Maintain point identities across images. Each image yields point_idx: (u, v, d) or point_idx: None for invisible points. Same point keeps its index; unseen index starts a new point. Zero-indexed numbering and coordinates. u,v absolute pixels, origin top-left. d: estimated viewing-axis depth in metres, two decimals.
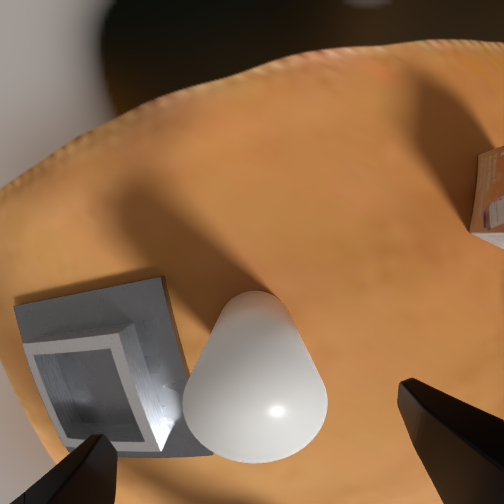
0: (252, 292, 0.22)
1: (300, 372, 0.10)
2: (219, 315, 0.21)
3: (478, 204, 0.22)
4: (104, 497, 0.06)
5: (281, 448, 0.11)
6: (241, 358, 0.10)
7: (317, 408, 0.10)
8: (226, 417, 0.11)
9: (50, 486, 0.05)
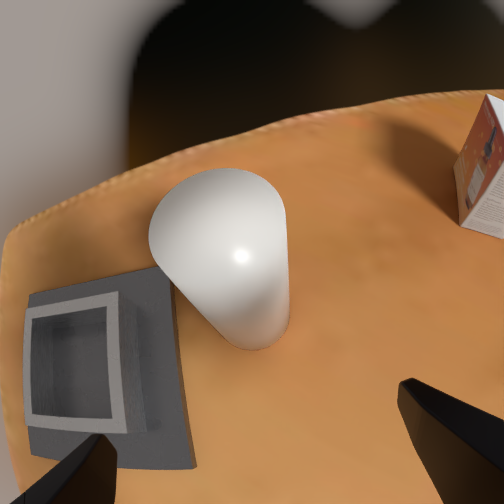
0: None
1: (256, 185, 0.13)
2: None
3: (460, 199, 0.24)
4: (104, 497, 0.06)
5: (238, 265, 0.11)
6: (208, 178, 0.13)
7: (275, 216, 0.12)
8: (186, 228, 0.12)
9: (50, 486, 0.05)
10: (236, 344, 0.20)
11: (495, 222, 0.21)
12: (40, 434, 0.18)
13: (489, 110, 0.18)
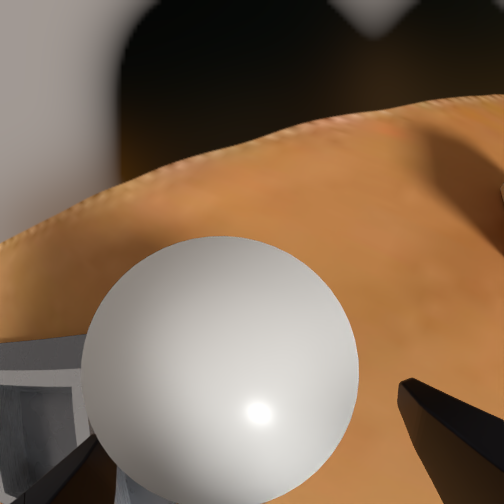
0: None
1: (293, 282, 0.06)
2: None
3: None
4: (104, 497, 0.06)
5: (259, 475, 0.04)
6: (190, 259, 0.06)
7: (337, 365, 0.05)
8: (147, 380, 0.05)
9: (50, 486, 0.05)
10: None
11: None
12: None
13: None
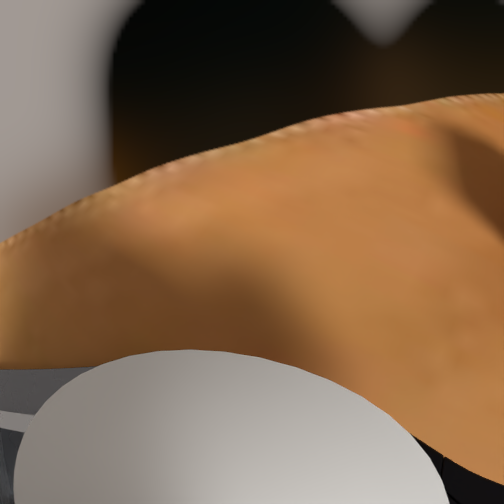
0: None
1: (365, 454, 0.02)
2: None
3: None
4: None
5: None
6: (156, 395, 0.03)
7: None
8: None
9: None
10: None
11: None
12: None
13: None
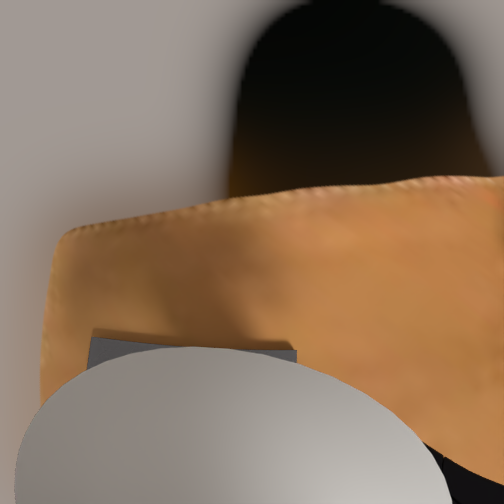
0: None
1: (368, 450, 0.02)
2: None
3: None
4: None
5: None
6: (159, 393, 0.03)
7: None
8: None
9: None
10: None
11: None
12: None
13: None
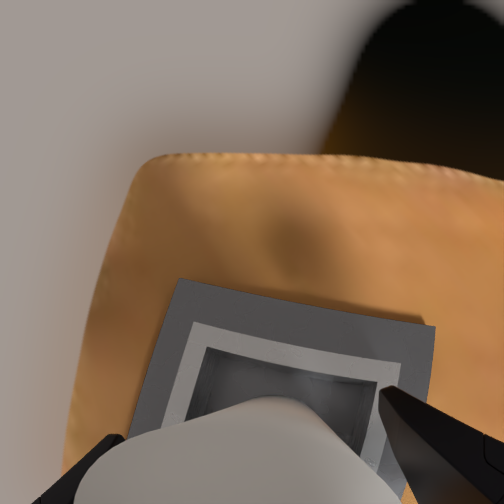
0: (269, 395, 0.14)
1: (350, 494, 0.03)
2: None
3: None
4: None
5: None
6: (195, 456, 0.03)
7: None
8: None
9: (66, 490, 0.05)
10: None
11: None
12: None
13: None
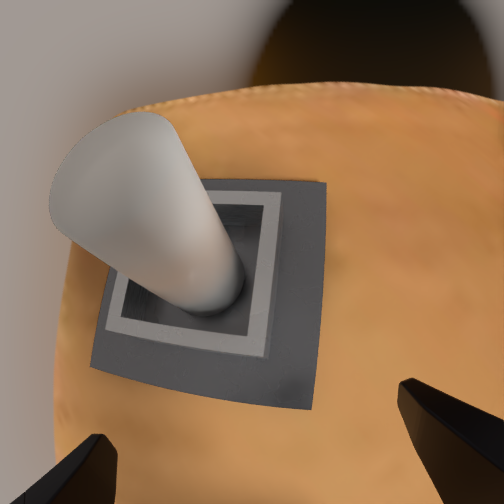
0: None
1: (151, 122, 0.10)
2: None
3: None
4: (104, 497, 0.06)
5: (126, 207, 0.09)
6: (106, 128, 0.11)
7: (166, 148, 0.10)
8: (81, 182, 0.10)
9: (50, 486, 0.05)
10: (187, 311, 0.19)
11: None
12: (112, 344, 0.20)
13: None
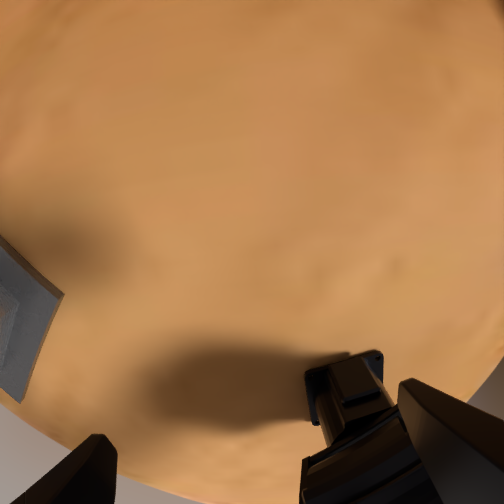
0: None
1: None
2: None
3: None
4: (104, 497, 0.06)
5: None
6: None
7: None
8: None
9: (50, 486, 0.05)
10: None
11: None
12: (6, 382, 0.21)
13: None
